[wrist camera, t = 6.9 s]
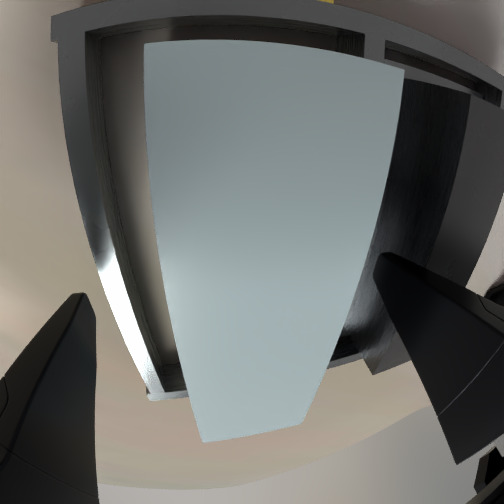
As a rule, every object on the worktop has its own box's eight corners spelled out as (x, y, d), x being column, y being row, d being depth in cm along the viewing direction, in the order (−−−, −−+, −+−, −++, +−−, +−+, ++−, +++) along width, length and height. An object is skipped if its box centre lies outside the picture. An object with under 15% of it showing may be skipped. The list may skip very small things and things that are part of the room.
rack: (487, 63, 8) (547, 82, 5) (414, 318, 17) (443, 357, 14) (71, 6, 5) (17, -21, 2) (149, 374, 14) (153, 436, 11)
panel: (295, 62, 8) (404, 70, 4) (268, 335, 14) (301, 423, 11) (161, 60, 7) (143, 43, 3) (187, 346, 14) (202, 442, 10)
